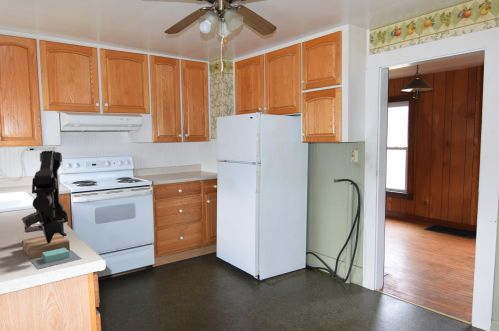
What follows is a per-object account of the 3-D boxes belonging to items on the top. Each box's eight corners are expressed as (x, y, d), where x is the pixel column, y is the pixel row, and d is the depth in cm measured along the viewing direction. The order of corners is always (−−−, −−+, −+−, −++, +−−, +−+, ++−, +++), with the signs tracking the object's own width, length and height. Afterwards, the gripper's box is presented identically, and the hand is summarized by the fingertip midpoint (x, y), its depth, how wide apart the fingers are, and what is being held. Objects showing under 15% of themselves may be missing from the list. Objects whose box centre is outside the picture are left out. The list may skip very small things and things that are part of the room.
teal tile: (46, 256, 133) (46, 262, 133) (69, 251, 138) (69, 257, 138) (42, 252, 137) (42, 258, 137) (64, 247, 142) (65, 253, 143)
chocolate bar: (26, 231, 173) (25, 223, 188) (26, 233, 174) (25, 225, 189) (47, 228, 178) (44, 220, 193) (47, 230, 178) (45, 222, 193)
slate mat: (29, 259, 137) (29, 259, 137) (71, 250, 147) (71, 250, 147) (37, 269, 127) (37, 269, 127) (81, 258, 137) (81, 258, 137)
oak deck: (22, 249, 149) (22, 239, 149) (59, 241, 158) (58, 232, 158) (31, 259, 137) (30, 249, 137) (69, 250, 147) (69, 241, 146)
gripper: (17, 204, 144) (21, 241, 145) (27, 212, 130) (31, 253, 132) (48, 200, 151) (51, 235, 153) (61, 207, 137) (63, 246, 139)
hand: (48, 242), depth 144 cm, fingers closed
